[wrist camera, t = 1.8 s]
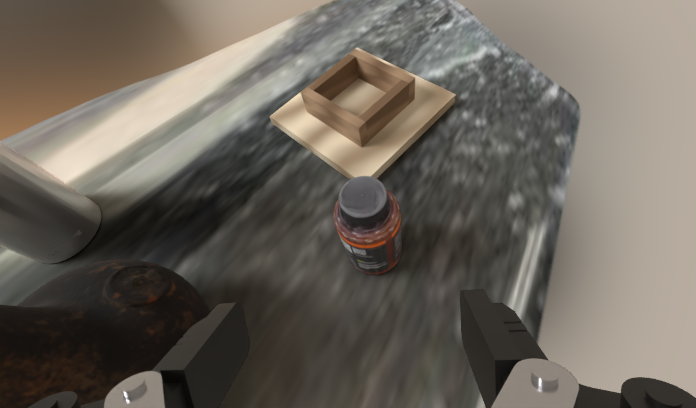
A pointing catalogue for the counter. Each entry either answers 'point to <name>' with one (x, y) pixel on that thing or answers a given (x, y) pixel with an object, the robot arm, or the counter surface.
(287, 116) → the collar board
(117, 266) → the rusty bud vase
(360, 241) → the supplement bottle
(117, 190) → the counter surface
